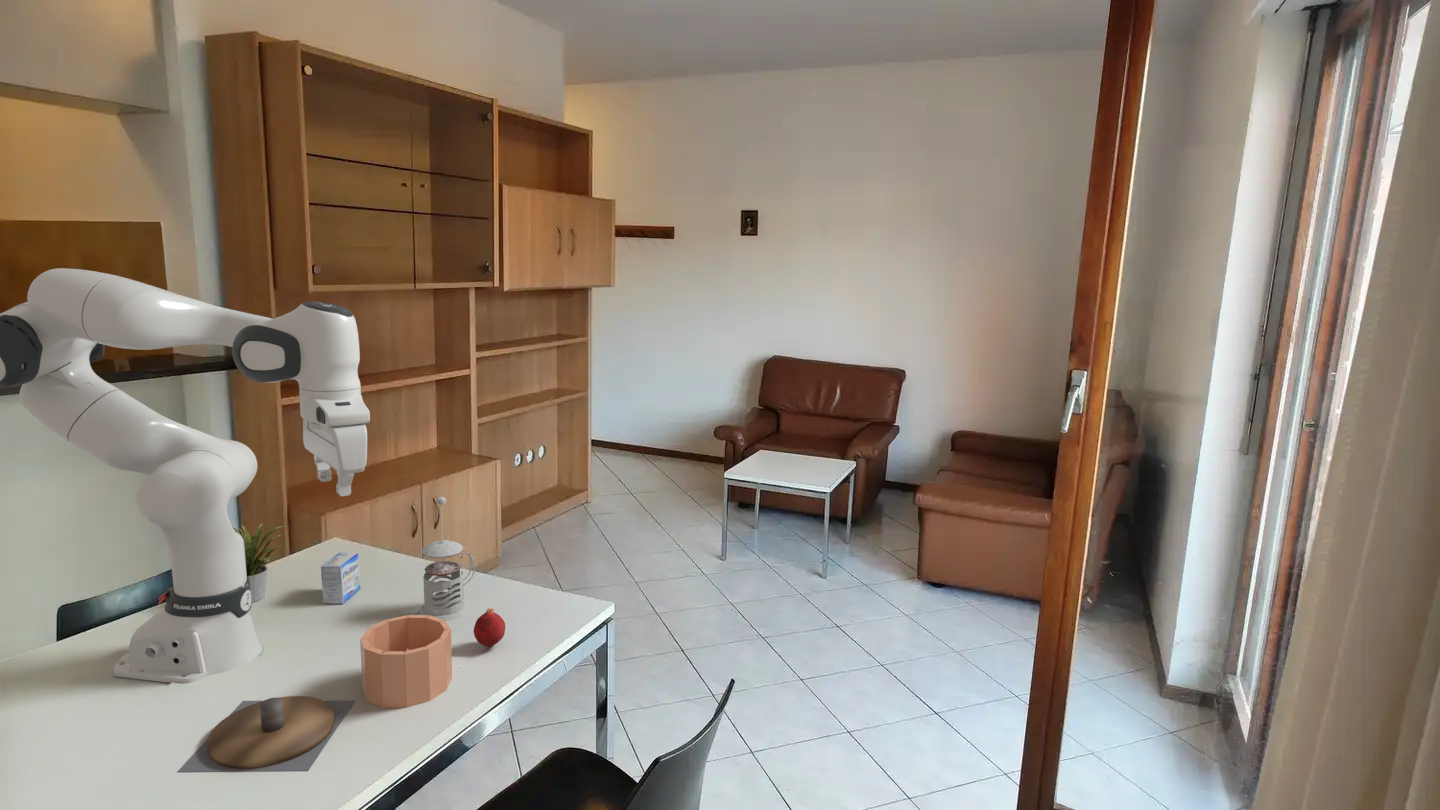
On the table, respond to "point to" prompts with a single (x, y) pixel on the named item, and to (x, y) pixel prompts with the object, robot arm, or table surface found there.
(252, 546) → the house plant
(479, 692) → the table surface
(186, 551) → the robot arm
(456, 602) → the french press
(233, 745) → the lid
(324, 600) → the medicine box
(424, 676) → the flower pot
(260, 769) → the mat
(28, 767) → the table surface
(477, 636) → the red pomegranate
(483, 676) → the table surface
